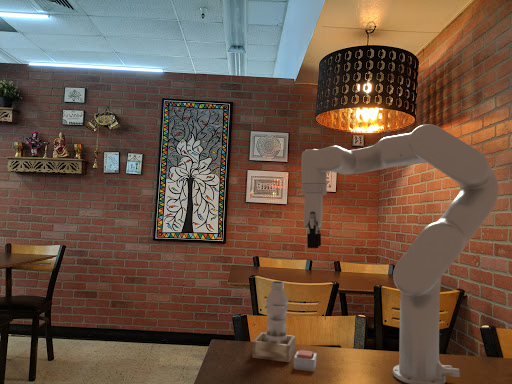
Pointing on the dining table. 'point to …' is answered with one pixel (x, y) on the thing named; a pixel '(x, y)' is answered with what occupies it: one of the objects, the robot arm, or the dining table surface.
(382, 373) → the dining table surface
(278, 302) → the plastic bottle
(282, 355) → the bottle caddy
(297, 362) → the button housing
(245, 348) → the dining table surface
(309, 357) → the button
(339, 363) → the dining table surface
